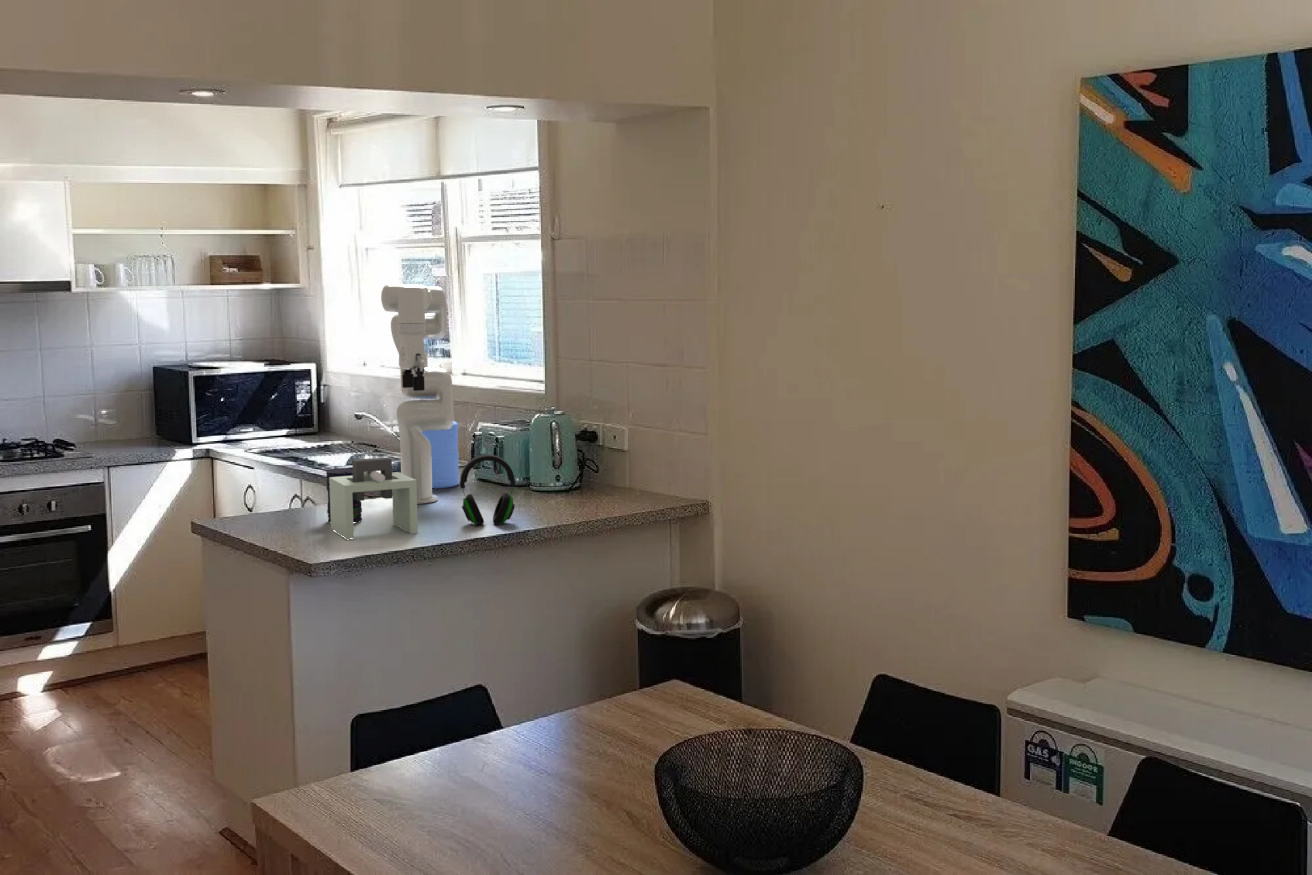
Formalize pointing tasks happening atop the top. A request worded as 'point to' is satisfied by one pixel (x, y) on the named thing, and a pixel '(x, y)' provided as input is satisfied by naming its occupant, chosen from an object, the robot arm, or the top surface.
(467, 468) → the headphones
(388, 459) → the grey bridge arch
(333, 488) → the shelf
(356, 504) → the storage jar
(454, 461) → the light blue cylinder
